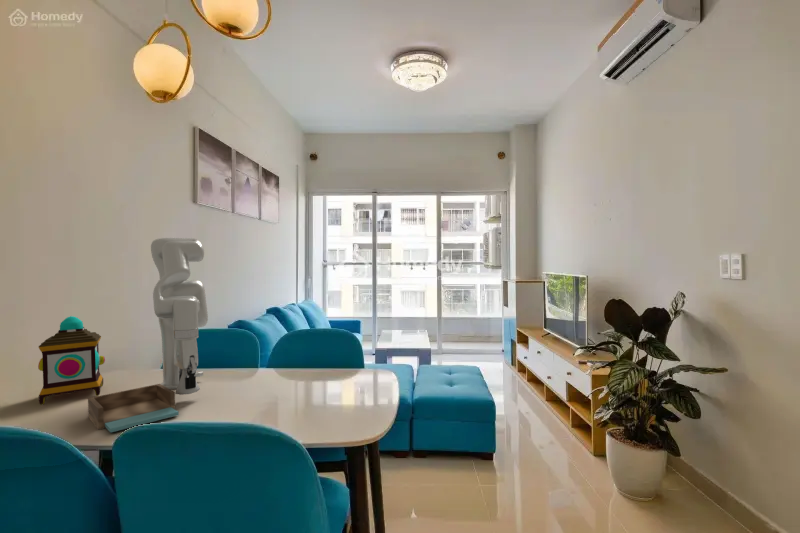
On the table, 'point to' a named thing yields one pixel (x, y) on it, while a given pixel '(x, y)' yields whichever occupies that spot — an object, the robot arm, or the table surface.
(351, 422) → the table surface
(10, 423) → the table surface
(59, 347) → the decorative lantern
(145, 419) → the teal panel
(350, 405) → the table surface
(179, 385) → the flask
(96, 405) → the crate
